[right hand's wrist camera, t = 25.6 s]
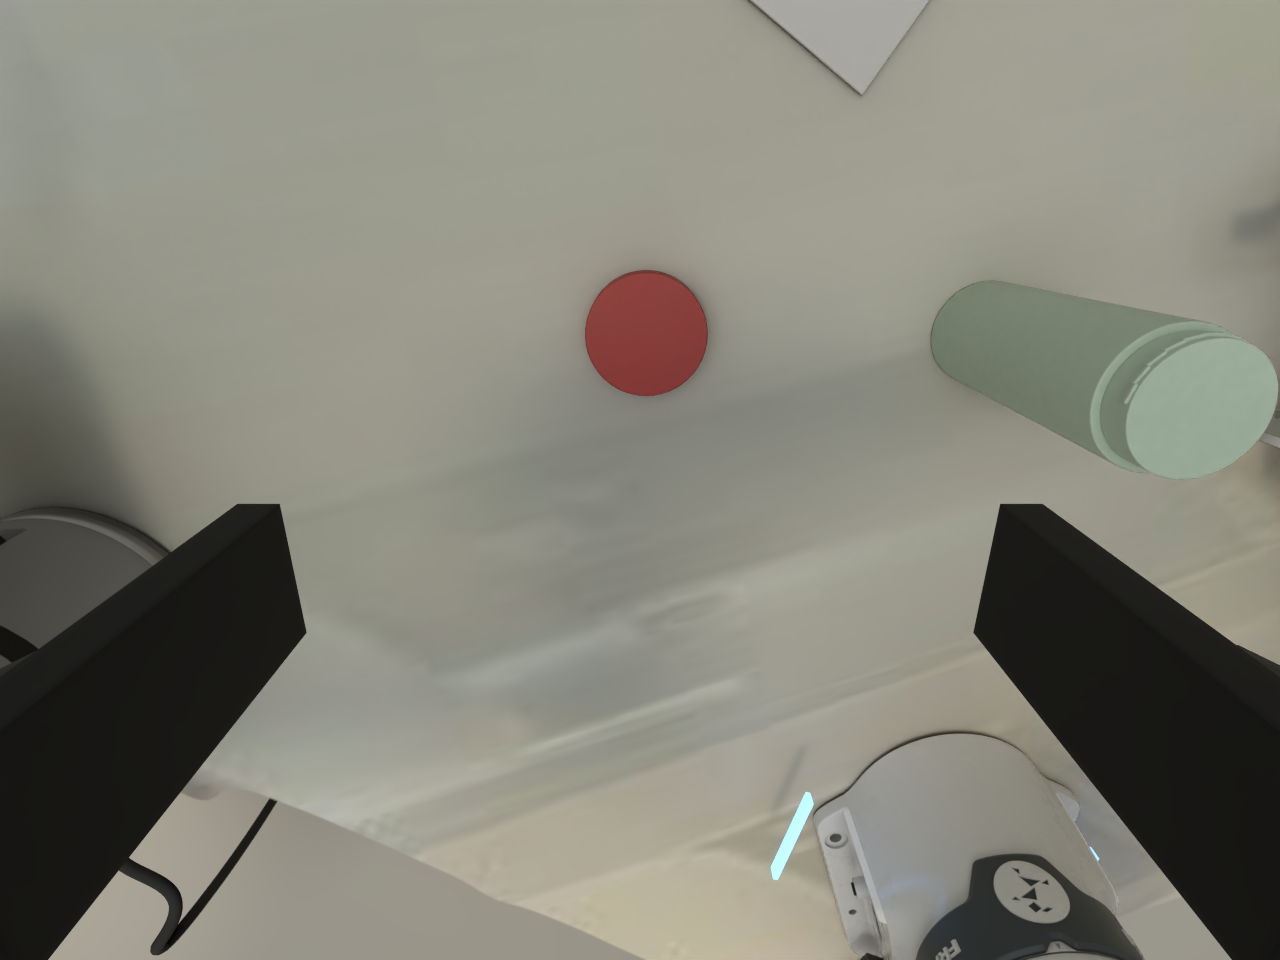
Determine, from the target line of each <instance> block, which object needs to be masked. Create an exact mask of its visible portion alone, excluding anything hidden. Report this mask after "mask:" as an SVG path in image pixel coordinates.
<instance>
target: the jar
mask: <svg viewBox="0 0 1280 960" xmlns="http://www.w3.org/2000/svg"><path fill="white" fill-rule="evenodd" d="M931 347H932V352H933V355H934V358H935V360H936V362H937V364H938V365H939V367H940V368H941V369H942V370H943V371H944V372H945V373H946V374H947V375H949V376H950V377H952V378H954V379H956V380H957V381H959V382H961V383H963V384H965V385H967V386H969V387H971V388H972V389H974V390H976V391H978V392H980V393H982V394H984V395H985V396H987V397H989V398H991V399H993V400H995V401H997V402H999V403H1000V404H1002V405H1004V406H1006V407H1008V408H1010V409H1012V410H1013V411H1015V412H1017V413H1019V414H1021V415H1023V416H1025V417H1027V418H1028V419H1030V420H1032V421H1034V422H1036V423H1038V424H1040V425H1042V426H1043V427H1045V428H1047V429H1049V430H1051V431H1053V432H1055V433H1056V434H1058V435H1060V436H1062V437H1064V438H1066V439H1068V440H1070V441H1071V442H1073V443H1075V444H1077V445H1079V446H1081V447H1083V448H1085V449H1086V450H1088V451H1090V452H1092V453H1094V454H1096V455H1098V456H1099V457H1101V458H1103V459H1105V460H1107V461H1109V462H1111V463H1113V464H1114V465H1116V466H1118V467H1121V468H1123V469H1126V470H1129V471H1133V472H1139V473H1152V474H1154V475H1157V476H1160V477H1163V478H1168V479H1181V480H1182V479H1193V478H1198V477H1202V476H1206V475H1209V474H1212V473H1214V472H1216V471H1219V470H1221V469H1223V468H1225V467H1227V466H1228V465H1230V464H1232V463H1233V462H1235V461H1236V460H1237V459H1239V458H1240V457H1241V456H1243V455H1244V454H1245V453H1246V452H1247V451H1248V450H1249V449H1250V448H1251V447H1252V446H1253V445H1254V444H1255V443H1256V442H1257V441H1258V439H1259V438H1260V437H1261V436H1262V434H1263V433H1264V431H1265V430H1266V428H1267V426H1268V424H1269V423H1270V421H1271V419H1272V416H1273V414H1274V411H1275V408H1276V404H1277V399H1278V379H1277V374H1276V371H1275V369H1274V366H1273V364H1272V363H1271V361H1270V359H1269V358H1268V357H1267V356H1266V355H1265V353H1264V352H1263V351H1261V350H1260V349H1259V348H1257V347H1256V346H1254V345H1252V344H1251V343H1249V342H1247V341H1246V340H1244V339H1242V337H1240V336H1236V335H1233V334H1231V333H1230V332H1229V331H1228V330H1226V329H1224V328H1222V327H1220V326H1218V325H1215V324H1212V323H1208V322H1203V321H1198V320H1193V319H1188V318H1183V317H1177V316H1172V315H1167V314H1162V313H1157V312H1152V311H1147V310H1142V309H1137V308H1132V307H1127V306H1122V305H1117V304H1111V303H1106V302H1101V301H1096V300H1091V299H1086V298H1081V297H1076V296H1071V295H1066V294H1061V293H1056V292H1051V291H1045V290H1040V289H1035V288H1030V287H1025V286H1020V285H1015V284H1010V283H1005V282H999V281H983V282H979V283H975V284H972V285H970V286H968V287H966V288H964V289H962V290H960V291H959V292H957V293H956V294H955V295H954V296H952V297H951V298H950V299H949V300H948V301H947V302H946V304H945V305H944V306H943V307H942V309H941V310H940V312H939V314H938V316H937V318H936V320H935V322H934V326H933V329H932V335H931Z"/></svg>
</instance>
